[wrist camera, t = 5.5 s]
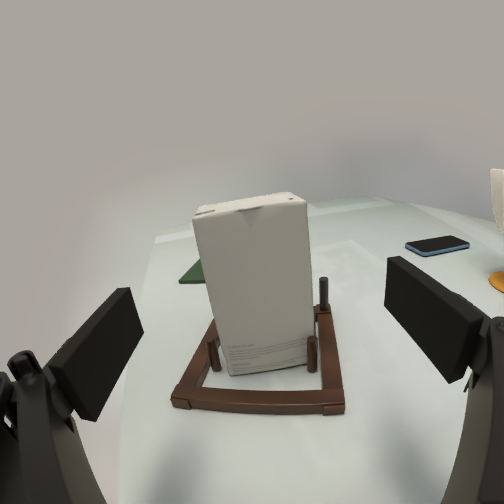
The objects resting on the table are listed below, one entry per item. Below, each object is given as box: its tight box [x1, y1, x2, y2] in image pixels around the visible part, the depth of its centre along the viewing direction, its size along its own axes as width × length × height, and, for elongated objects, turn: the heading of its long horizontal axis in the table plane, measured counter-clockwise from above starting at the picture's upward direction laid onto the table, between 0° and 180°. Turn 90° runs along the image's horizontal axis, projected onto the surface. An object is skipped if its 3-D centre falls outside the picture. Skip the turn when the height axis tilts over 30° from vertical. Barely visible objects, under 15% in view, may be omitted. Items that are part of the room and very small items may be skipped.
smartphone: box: [405, 236, 470, 256], centre depth 47 cm, size 7×1×15 cm
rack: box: [170, 277, 345, 415], centre depth 25 cm, size 16×14×5 cm
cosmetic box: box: [192, 192, 314, 376], centre depth 23 cm, size 8×6×15 cm
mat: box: [179, 259, 206, 283], centre depth 52 cm, size 18×18×1 cm
